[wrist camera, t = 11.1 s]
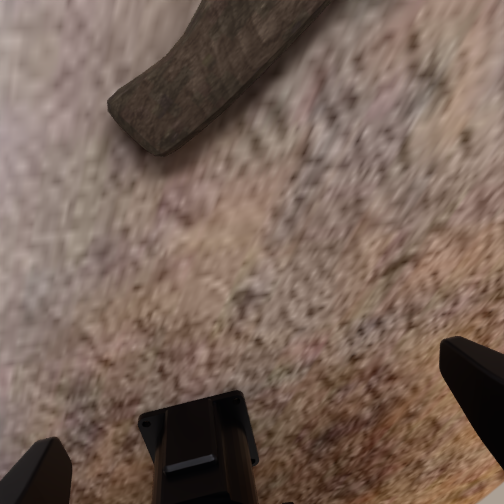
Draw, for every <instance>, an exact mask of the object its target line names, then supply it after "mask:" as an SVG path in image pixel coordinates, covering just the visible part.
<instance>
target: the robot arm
mask: <svg viewBox="0 0 504 504" xmlns="http://www.w3.org/2000/svg"><path fill="white" fill-rule="evenodd" d="M439 368H440V372H441V374H442V377H443V378H444V380H445V382H446V383H447V385H448V387H449V388H450V390H451V392H452V393H453V395H454V397H455V398H456V400H457V402H458V403H459V405H460V407H461V408H462V410H463V412H464V413H465V415H466V417H467V418H468V420H469V422H470V423H471V425H472V427H473V428H474V430H475V431H476V433H477V434H478V436H479V437H480V439H481V440H482V442H483V443H484V444H485V446H486V447H487V448H488V450H489V451H490V452H491V454H492V455H493V457H494V458H495V459H496V461H497V462H498V463H499V465H500V466H501V467H502V469H503V470H504V354H502V353H500V352H497V351H495V350H492V349H490V348H488V347H485V346H483V345H480V344H478V343H475V342H473V341H471V340H468V339H466V338H463V337H461V336H454V337H450V338H446V339H443V340H442V341H441V343H440V357H439ZM235 398H238V399H237V400H233V399H235ZM144 421H149V422H144ZM138 427H139V429H140V432H141V434H142V437H143V439H144V441H145V444H146V446H147V449H148V451H149V453H150V456H151V458H152V461H153V463H154V476H153V490H152V504H259V503H258V498H257V492H256V486H255V481H254V475H253V469H252V467H253V466H255V465H257V464H258V462H259V457H258V452H257V448H256V444H255V440H254V436H253V432H252V427H251V423H250V419H249V415H248V411H247V407H246V403H245V399H244V395H243V393H242V392H241V391H238V390H236V391H231V392H227V393H223V394H219V395H215V396H211V397H207V398H203V399H199V400H195V401H191V402H187V403H183V404H179V405H175V406H171V407H167V408H163V409H159V410H155V411H151V412H147V413H144V414H141V415H140V416H139V419H138ZM71 479H72V463H71V460H70V458H69V456H68V454H67V452H66V450H65V449H64V447H63V445H62V443H61V441H60V440H59V439H58V438H57V437H50V438H46V439H42V440H39V441H37V442H35V443H34V444H33V445H32V446H31V447H30V449H29V450H28V451H27V452H26V453H25V454H24V455H23V456H22V457H21V459H20V460H19V461H18V462H17V463H16V464H15V465H14V466H13V467H12V468H11V470H10V471H9V472H8V473H7V474H6V475H5V476H4V477H3V478H2V480H1V481H0V504H69V498H70V488H71ZM282 504H294V503H293V502H286V503H282Z"/></svg>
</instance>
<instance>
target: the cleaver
mask: <svg viewBox="0 0 504 504" xmlns="http://www.w3.org/2000/svg"><path fill="white" fill-rule="evenodd" d="M331 1H332V0H202V1H201V3H200V5H199V7H198V9H197V11H196V12H195V14H194V16H193V18H192V20H191V22H190V23H189V25H188V27H187V29H186V31H185V33H184V34H183V36H182V37H181V38H180V39H179V41H178V42H177V43H176V44H175V45H174V47H173V48H172V49H171V50H170V51H169V53H168V54H167V55H166V56H165V57H163V58H162V59H161V60H160V61H158V62H157V63H156V64H154V65H153V66H152V67H150V68H149V69H148V70H146V71H145V72H144V73H142V74H141V75H139V76H138V77H136V78H135V79H133V80H132V81H130V82H129V83H127V84H126V85H124V86H123V87H121V88H120V89H118V90H117V91H116V92H115V93H114V94H113V95H112V96H111V97H110V98H109V99H108V100H107V105H108V112H109V113H110V114H111V116H112V117H113V118H114V120H115V121H116V122H117V123H118V124H119V125H120V126H121V127H122V128H123V129H124V130H125V131H126V132H127V133H128V134H129V135H130V136H131V137H132V138H133V139H134V140H135V141H136V142H137V143H138V144H139V145H141V146H142V147H143V148H144V149H145V150H147V151H148V152H150V153H151V154H153V155H154V156H167V155H169V154H170V153H172V152H174V151H175V150H177V149H179V148H180V147H181V146H183V145H184V144H185V143H186V142H188V141H189V140H190V139H192V138H193V137H194V136H195V135H197V134H198V133H199V132H200V131H201V130H203V129H204V128H205V127H206V126H207V125H208V124H209V123H211V122H212V121H213V120H214V119H215V118H216V117H218V116H219V115H220V114H221V113H222V112H223V111H224V110H225V109H226V108H227V107H228V106H230V105H231V104H232V103H233V102H234V101H235V100H236V99H237V98H238V97H239V96H240V95H241V94H242V93H243V92H244V91H245V90H246V89H247V88H248V87H249V86H250V85H251V84H252V83H253V82H254V81H255V80H256V79H257V78H258V77H259V76H260V75H261V74H262V73H263V72H264V71H265V70H266V69H267V68H268V67H269V66H270V65H271V64H272V63H273V62H274V61H275V60H276V59H277V58H278V57H279V56H280V55H281V54H282V53H283V52H284V51H285V50H286V49H287V48H288V47H289V46H290V45H291V44H292V43H293V42H294V41H295V40H296V39H297V38H298V37H299V36H300V35H301V34H302V32H303V31H304V30H305V29H306V28H307V27H308V26H309V25H310V24H311V23H312V22H313V21H314V20H315V19H316V18H317V17H318V15H319V14H320V13H321V12H322V11H323V10H324V9H325V8H326V7H327V6H328V5H329V4H330V3H331Z"/></svg>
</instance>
